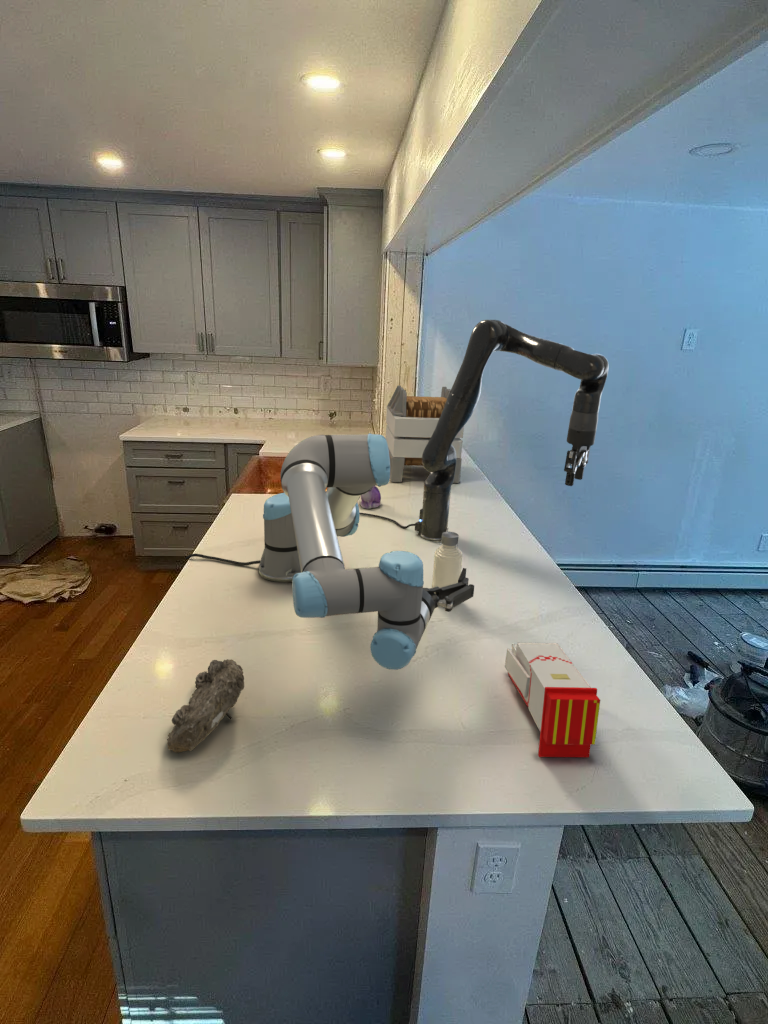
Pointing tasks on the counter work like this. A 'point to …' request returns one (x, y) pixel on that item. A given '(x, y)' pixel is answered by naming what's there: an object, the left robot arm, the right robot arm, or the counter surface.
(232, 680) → the fossil
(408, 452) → the transformer
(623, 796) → the counter surface
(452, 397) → the right robot arm
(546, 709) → the toy
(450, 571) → the ribbed frosted cylinder
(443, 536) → the cap
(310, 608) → the left robot arm
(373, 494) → the figurine
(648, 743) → the counter surface
